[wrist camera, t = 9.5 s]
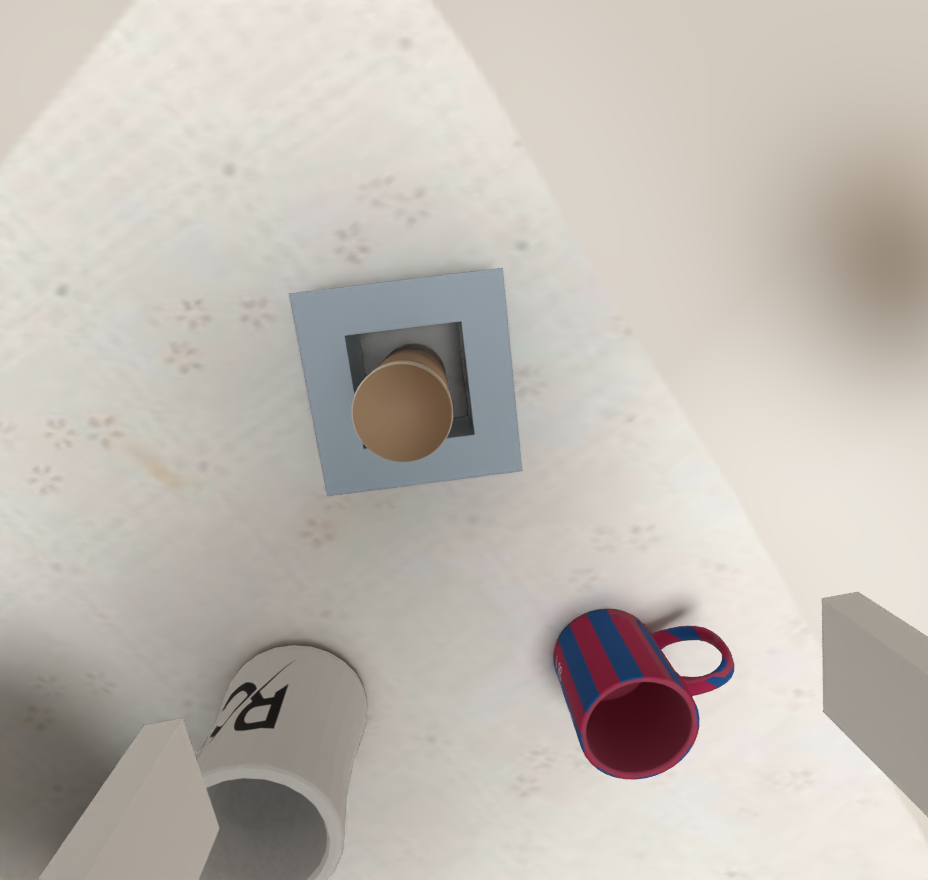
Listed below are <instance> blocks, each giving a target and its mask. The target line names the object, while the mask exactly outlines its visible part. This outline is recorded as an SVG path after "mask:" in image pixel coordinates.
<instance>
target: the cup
mask: <svg viewBox="0 0 928 880" xmlns="http://www.w3.org/2000/svg"><path fill="white" fill-rule="evenodd" d="M686 640H700V641H705V642H708V643H710V644H712V645H713V646H715V647H716V648H717V649H718V650H719V651H720V652H721V654H722V661H721V664H720V665H719V667H718V668H717V669H716V670H714V671H713V672H711V673H710V674H707V675H704V676H699V677H686V676H680V675H679V674H678V673H677V672H676V671H675V670H674V669H673V667H672V666H671V664H670V663H669V661H668V660H667V658H666V657H665V655H664V654H663V652H662V651H661V649H662V648H664V647H665V646H667V645H669V644H672V643H675V642H679V641H686ZM554 666H555V670H556V673H557V676H558V679H559V682H560V685H561V688H562V691H563V694H564V697H565V700H566V703H567V706H568V709H569V712H570V715H571V718H572V721H573V724H574V727H575V730H576V733H577V736H578V739H579V742H580V745H581V748H582V750H583V752H584V754H585V756H586V758H587V759H588V760H589V762H590V763H591V764H592V765H593V766H595V767H596V768H597V769H598V770H600V771H602V772H603V773H605V774H607V775H610V776H613V777H616V778H621V779H643V778H648V777H652V776H655V775H658V774H660V773H663V772H665V771H667V770H668V769H670V768H672V767H673V766H675V765H676V764H677V763H678V762H680V761H681V760H682V759H683V758H684V757H685V756H686V754H687V753H688V752H689V750H690V749H691V747H692V746H693V744H694V742H695V740H696V737H697V734H698V730H699V713H698V709H697V706H696V704H695V701H694V700H693V698H692V696H694V695H699V694H703V693H706V692H709V691H712V690H714V689H717V688H719V687H721V686H722V685H724V684H725V683H727V682H728V681H729V680H730V678H731V677H732V675H733V673H734V662H733V658H732V655H731V652H730V650H729V648H728V647H727V645H726V644H725V643H724V642H723V640H722V639H721V638H720V637H719V636H718V635H716V634H715V633H714V632H712V631H710V630H708V629H706V628H704V627H698V626H679V627H674V628H669V629H665V630H660V631H657V632H655V633H650V632H649V631H648V630H647V628H646V627H645V626H644V625H643V624H642V623H641V622H640V621H639V620H638V619H637V618H635V617H634V616H632V615H630V614H628V613H625V612H622V611H618V610H608V609H606V610H597V611H594V612H590V613H587V614H585V615H583V616H581V617H579V618H577V619H576V620H574V621H573V622H572V623H571V624H569V625H568V626H567V627H566V628H565V630H564V631H563V632H562V633H561V635H560V637H559V639H558V640H557V643H556V646H555V650H554Z"/></svg>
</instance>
